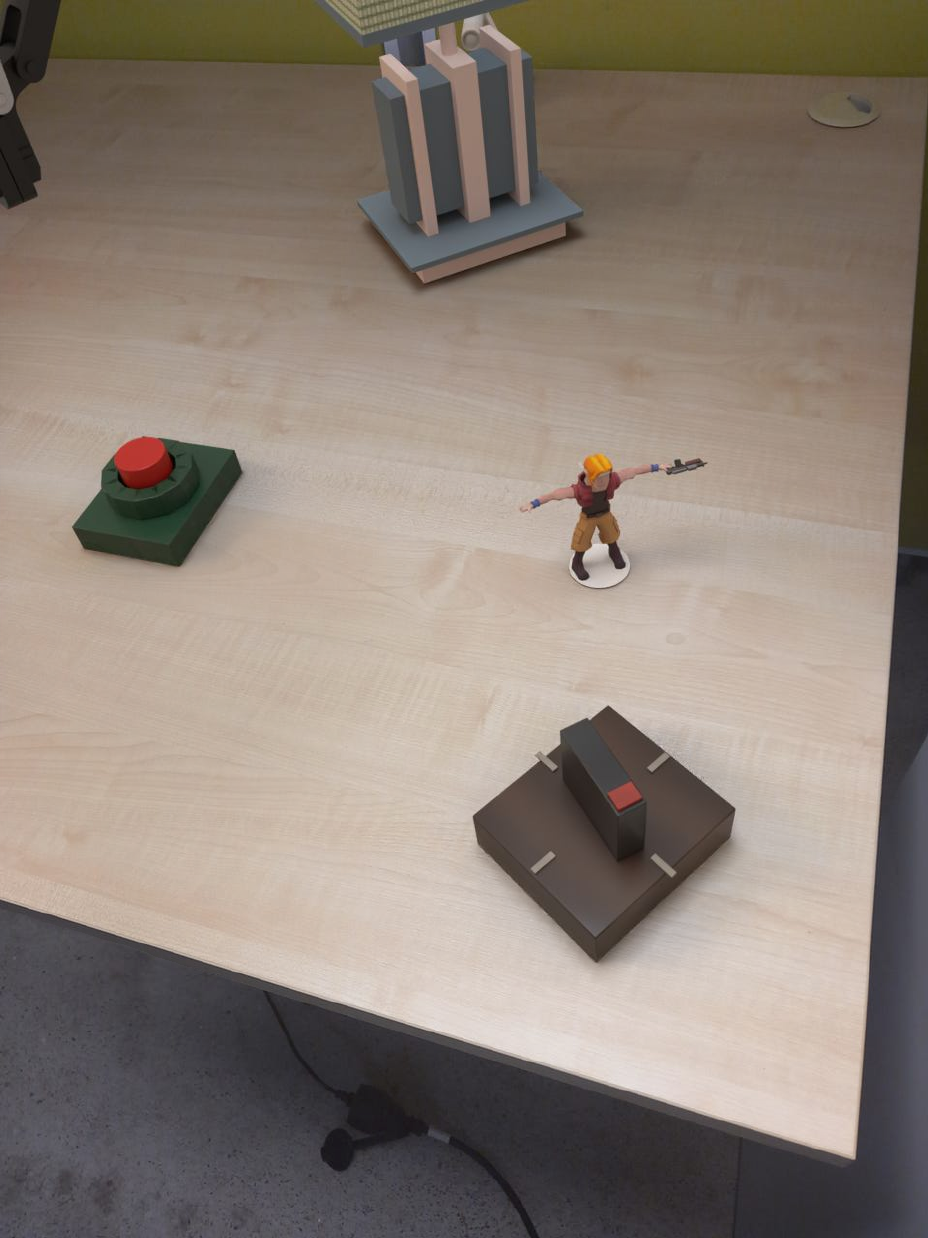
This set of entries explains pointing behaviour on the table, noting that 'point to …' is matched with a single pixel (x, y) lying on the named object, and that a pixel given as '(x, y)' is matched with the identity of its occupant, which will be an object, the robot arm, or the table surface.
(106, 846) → the table surface
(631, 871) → the panel
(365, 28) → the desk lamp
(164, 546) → the button box
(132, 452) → the button
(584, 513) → the action figure
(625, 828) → the knob
